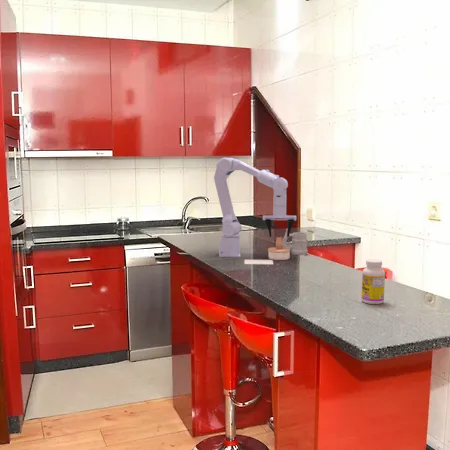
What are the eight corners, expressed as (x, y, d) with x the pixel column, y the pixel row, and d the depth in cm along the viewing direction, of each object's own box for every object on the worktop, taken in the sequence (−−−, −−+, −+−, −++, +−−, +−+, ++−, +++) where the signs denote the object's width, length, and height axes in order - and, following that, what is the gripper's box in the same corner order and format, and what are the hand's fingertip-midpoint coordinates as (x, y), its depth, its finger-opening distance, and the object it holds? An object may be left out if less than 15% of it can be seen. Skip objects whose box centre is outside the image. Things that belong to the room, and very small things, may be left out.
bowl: (268, 260, 238) (269, 252, 238) (268, 256, 247) (268, 249, 246) (289, 260, 238) (290, 252, 237) (288, 257, 246) (288, 249, 246)
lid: (267, 252, 237) (267, 238, 236) (268, 249, 246) (268, 235, 246) (290, 253, 236) (290, 239, 235) (290, 249, 245) (290, 236, 245)
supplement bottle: (358, 299, 172) (359, 258, 171) (379, 299, 173) (380, 258, 171) (365, 304, 166) (367, 262, 164) (387, 304, 166) (388, 262, 165)
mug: (309, 255, 251) (310, 229, 249) (284, 256, 249) (284, 229, 248) (305, 252, 258) (305, 227, 257) (280, 253, 257) (280, 227, 256)
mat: (244, 264, 228) (244, 263, 228) (244, 260, 238) (244, 259, 238) (273, 265, 227) (273, 264, 227) (272, 260, 237) (272, 259, 237)
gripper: (263, 206, 236) (262, 237, 237) (297, 206, 235) (296, 238, 237) (262, 204, 243) (262, 235, 244) (295, 205, 242) (295, 235, 244)
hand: (279, 236), depth 241 cm, fingers open, 7 cm apart
